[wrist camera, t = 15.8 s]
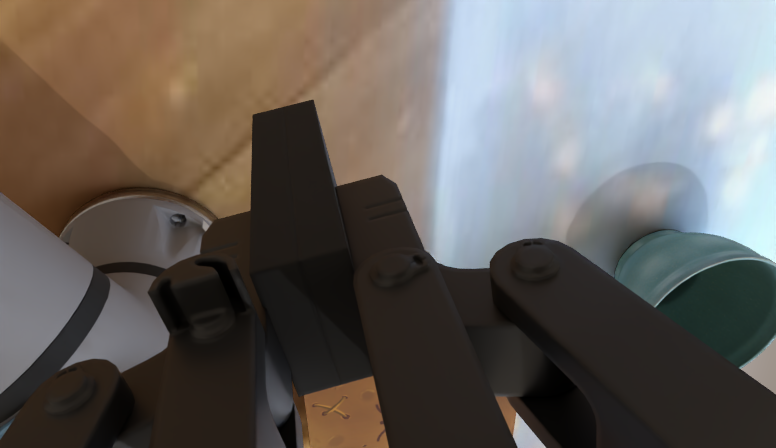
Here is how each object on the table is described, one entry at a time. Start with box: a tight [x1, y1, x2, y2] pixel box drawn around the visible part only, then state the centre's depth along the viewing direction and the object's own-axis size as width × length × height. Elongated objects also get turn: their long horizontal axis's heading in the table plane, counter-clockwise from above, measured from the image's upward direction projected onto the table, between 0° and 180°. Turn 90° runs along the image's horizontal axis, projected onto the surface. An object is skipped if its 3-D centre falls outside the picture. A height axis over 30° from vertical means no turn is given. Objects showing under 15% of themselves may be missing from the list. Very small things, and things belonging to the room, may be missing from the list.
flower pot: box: [615, 230, 776, 369], centre depth 62 cm, size 16×16×11 cm
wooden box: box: [304, 376, 516, 448], centre depth 66 cm, size 23×19×6 cm
